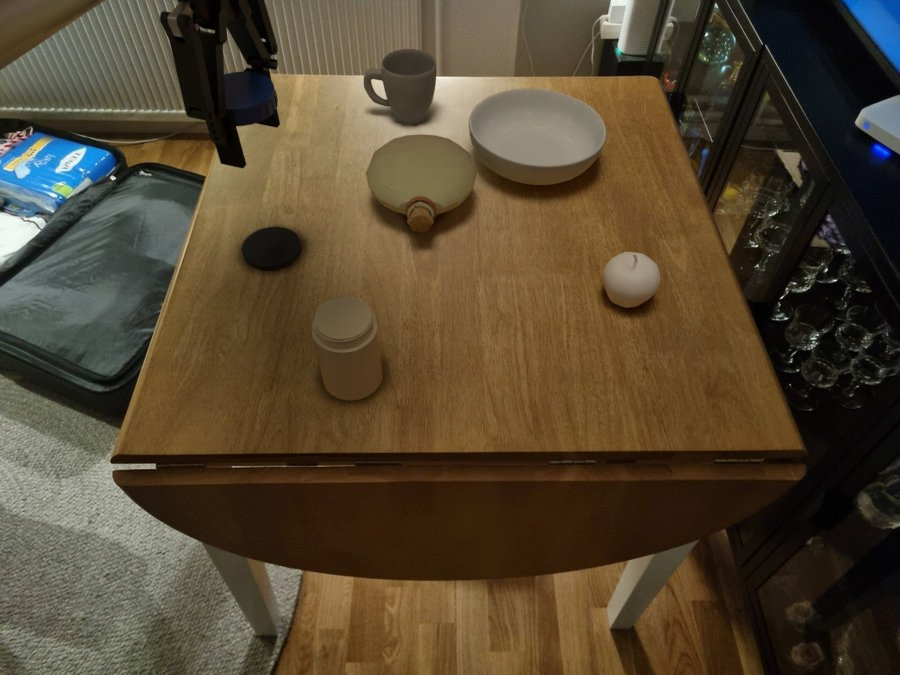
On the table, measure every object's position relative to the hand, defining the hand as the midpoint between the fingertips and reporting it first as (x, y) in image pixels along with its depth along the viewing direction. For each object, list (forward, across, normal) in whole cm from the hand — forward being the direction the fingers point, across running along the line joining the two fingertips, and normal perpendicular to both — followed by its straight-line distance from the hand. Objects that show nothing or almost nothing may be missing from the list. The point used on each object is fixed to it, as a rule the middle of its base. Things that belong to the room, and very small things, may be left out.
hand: (251, 143), depth 73 cm
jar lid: (-6, 0, 0) cm, 6 cm away
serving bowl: (+19, -33, +28) cm, 47 cm away
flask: (+19, -16, +14) cm, 29 cm away
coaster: (+19, -2, -2) cm, 19 cm away
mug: (+19, -39, +3) cm, 44 cm away
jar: (+19, +15, +16) cm, 29 cm away
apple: (+19, -8, +45) cm, 50 cm away
